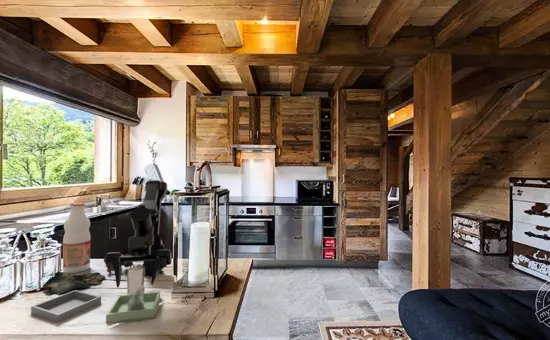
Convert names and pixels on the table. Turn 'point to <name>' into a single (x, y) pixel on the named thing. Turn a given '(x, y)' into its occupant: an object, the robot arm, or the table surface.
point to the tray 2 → (122, 315)
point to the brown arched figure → (123, 264)
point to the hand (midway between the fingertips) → (135, 285)
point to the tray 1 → (65, 305)
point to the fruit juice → (76, 240)
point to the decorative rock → (71, 282)
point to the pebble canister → (135, 288)
